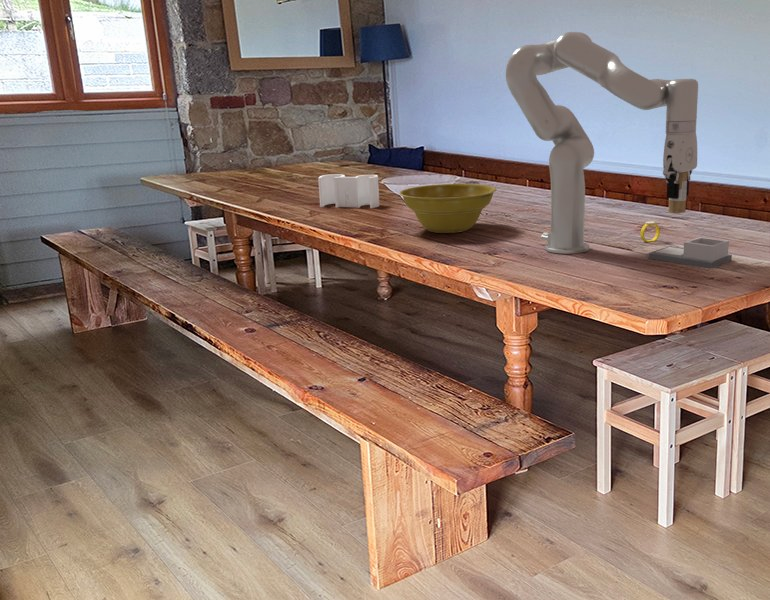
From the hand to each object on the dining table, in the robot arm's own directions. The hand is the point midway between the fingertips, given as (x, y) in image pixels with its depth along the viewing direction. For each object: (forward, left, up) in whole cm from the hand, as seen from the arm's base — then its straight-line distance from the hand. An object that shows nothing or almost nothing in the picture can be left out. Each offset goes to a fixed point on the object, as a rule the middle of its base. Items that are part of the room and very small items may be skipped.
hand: (677, 196), depth 219 cm
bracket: (-144, +4, -17) cm, 145 cm away
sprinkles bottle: (0, 0, -5) cm, 5 cm away
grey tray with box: (+4, 0, -17) cm, 17 cm away
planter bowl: (-78, -9, -17) cm, 80 cm away
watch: (-16, +13, -17) cm, 27 cm away
